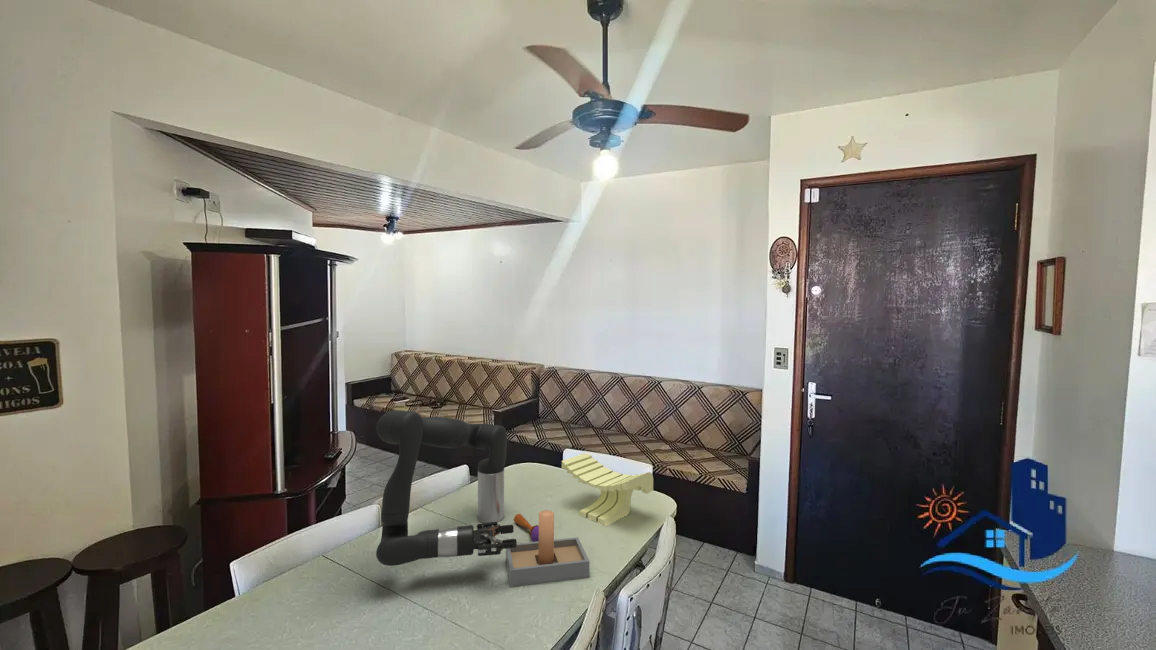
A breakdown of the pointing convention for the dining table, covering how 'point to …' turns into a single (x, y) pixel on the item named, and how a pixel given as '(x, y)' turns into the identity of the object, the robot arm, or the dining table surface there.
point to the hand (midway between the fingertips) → (514, 535)
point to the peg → (546, 537)
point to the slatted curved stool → (607, 488)
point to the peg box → (567, 564)
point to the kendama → (528, 527)
